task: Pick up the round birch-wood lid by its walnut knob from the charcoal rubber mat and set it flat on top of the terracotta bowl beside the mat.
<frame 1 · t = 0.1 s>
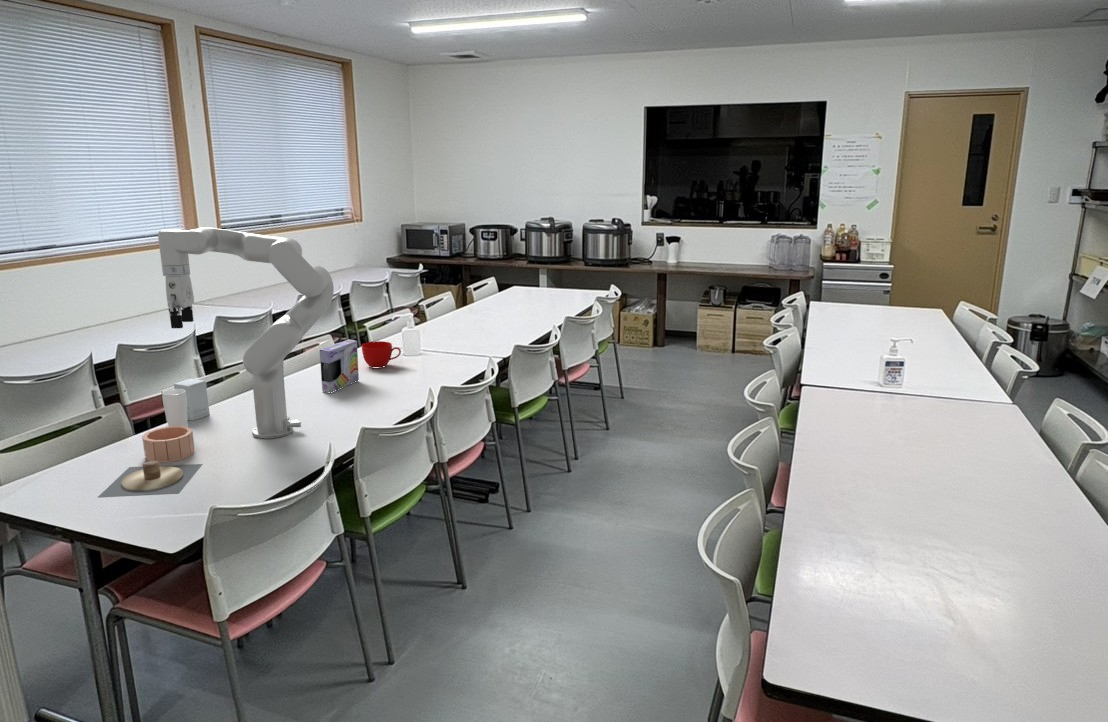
hand: (182, 324, 224), 37 cm above the table, tool pointing down, fingers open, 9 cm apart
ceramic cup: (382, 367, 318), on the table
drinking glass: (179, 436, 233), on the table
mat: (153, 480, 199), on the table
bowl: (170, 455, 217), on the table
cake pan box: (340, 387, 287), on the table
lid: (153, 479, 199), resting on mat
supplement box: (194, 416, 251), on the table
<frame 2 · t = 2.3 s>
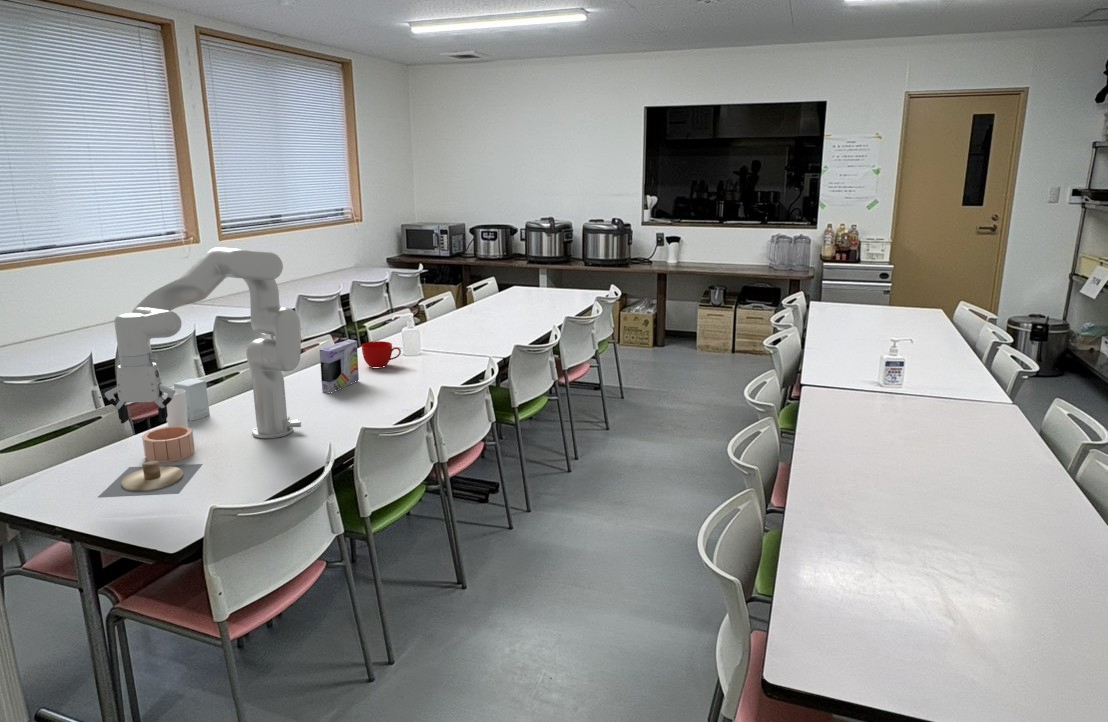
hand: (144, 421, 195), 18 cm above the table, tool pointing down, fingers open, 9 cm apart
nothing on the table moved.
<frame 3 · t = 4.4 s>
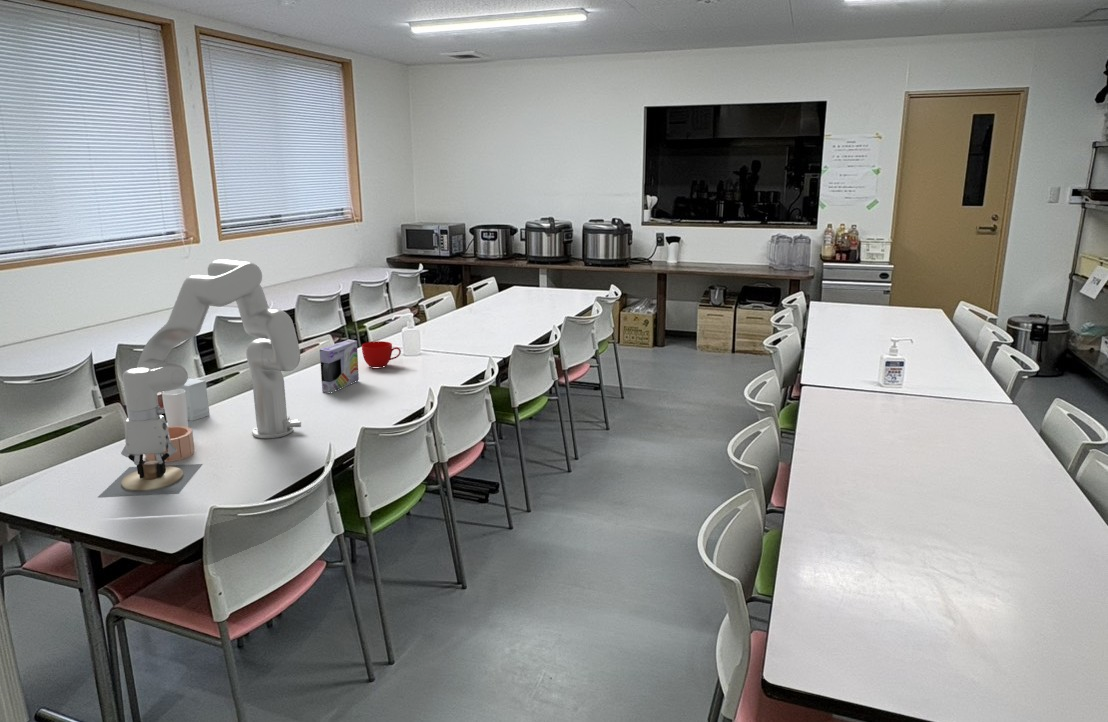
hand: (152, 475, 199), 2 cm above the table, tool pointing down, fingers closed on lid, 4 cm apart
lid: (153, 479, 199), resting on mat, touching gripper
everything else where it was.
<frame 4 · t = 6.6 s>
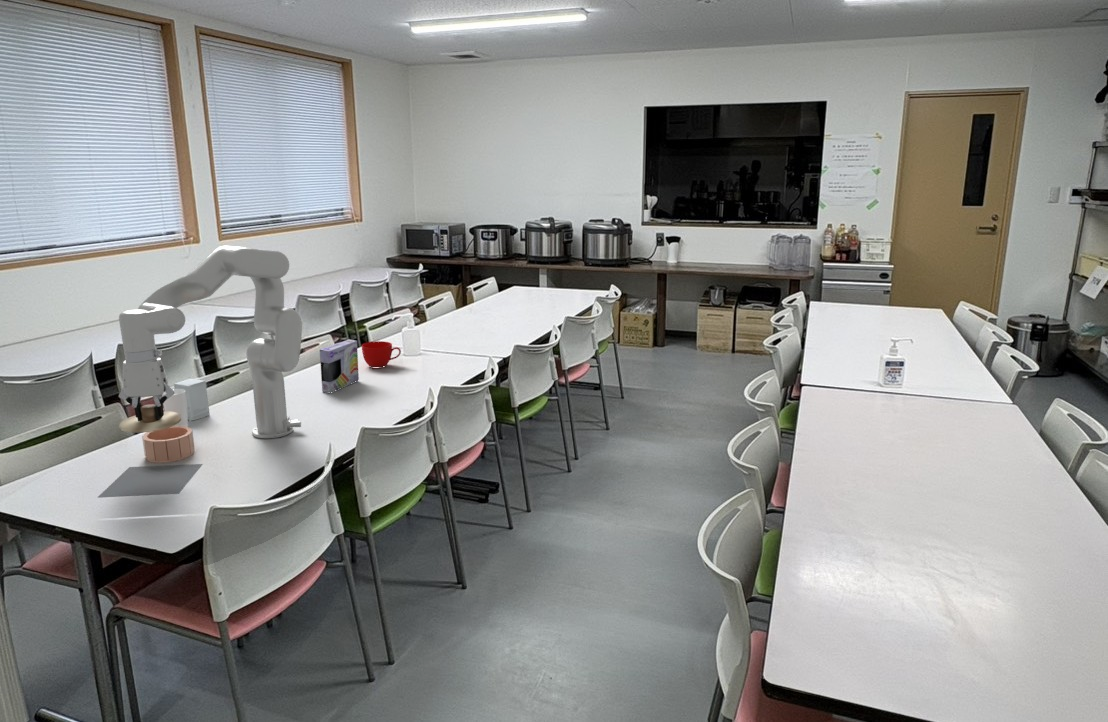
hand: (150, 418, 199), 17 cm above the table, tool pointing down, fingers closed on lid, 4 cm apart
lid: (151, 423, 199), point 16 cm above the table, touching gripper
everything else where it was.
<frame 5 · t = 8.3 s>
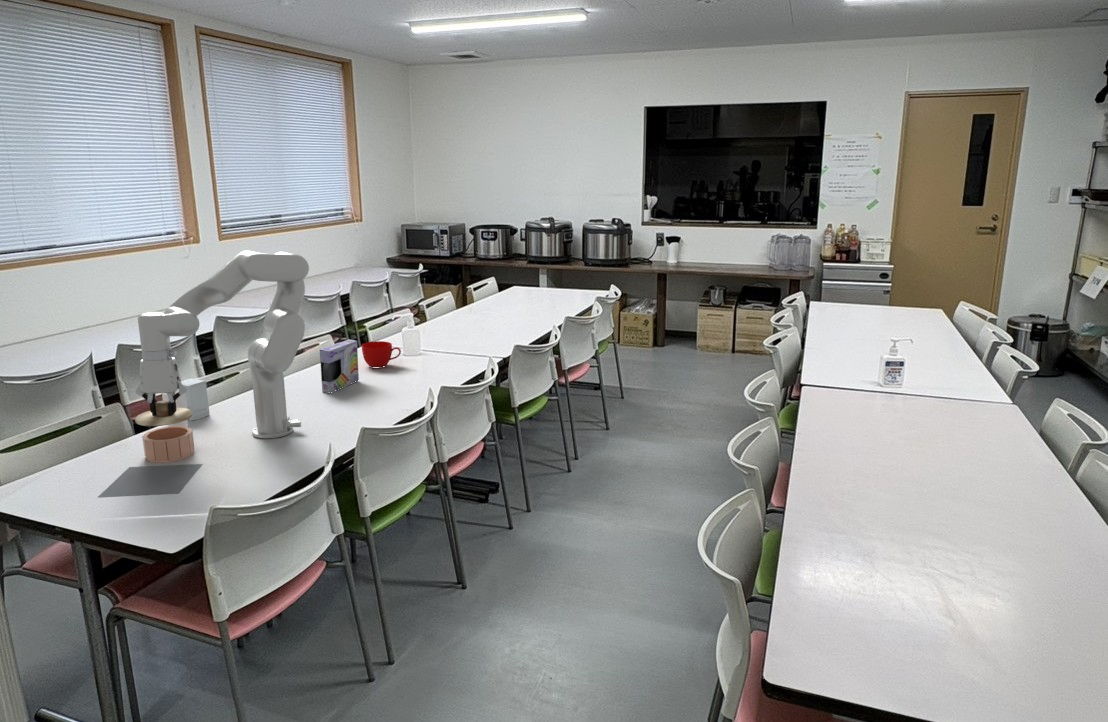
hand: (164, 413, 214), 13 cm above the table, tool pointing down, fingers closed on lid, 4 cm apart
lid: (164, 417, 214), point 12 cm above the table, touching gripper
everything else where it was.
when the fingers open (9 cm above the table, at t = 9.2 s): lid drops 1 cm, resting on bowl.
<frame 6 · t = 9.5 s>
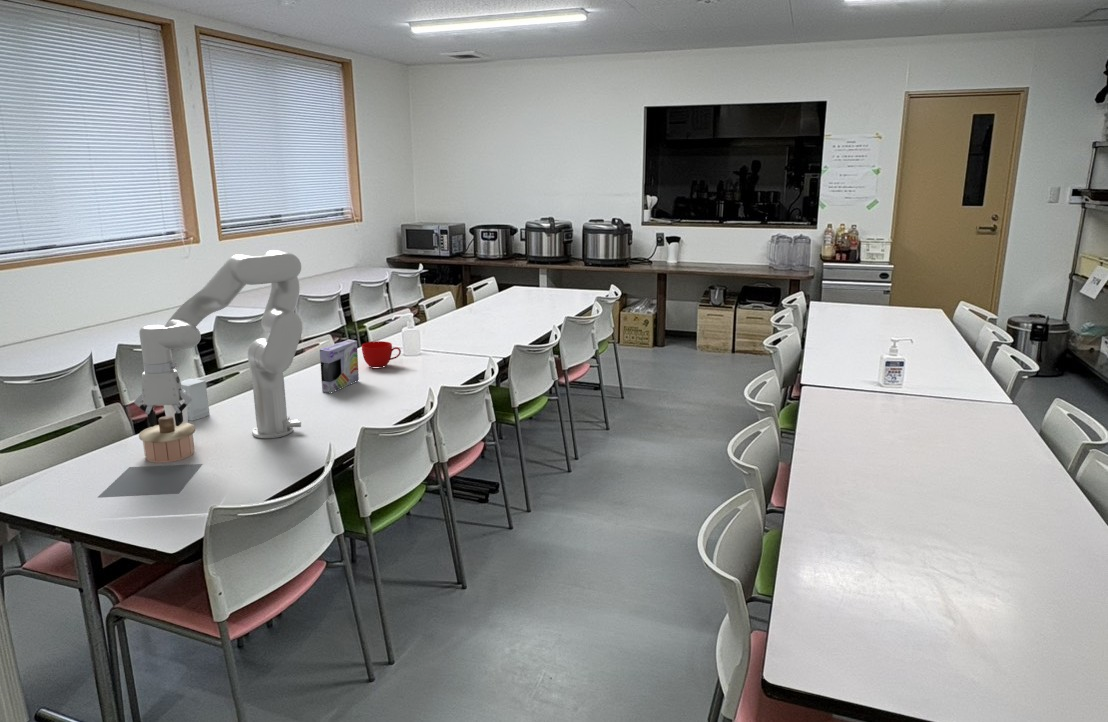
hand: (166, 424, 215), 10 cm above the table, tool pointing down, fingers open, 6 cm apart
lid: (167, 433, 215), point 7 cm above the table, touching bowl
everything else where it was.
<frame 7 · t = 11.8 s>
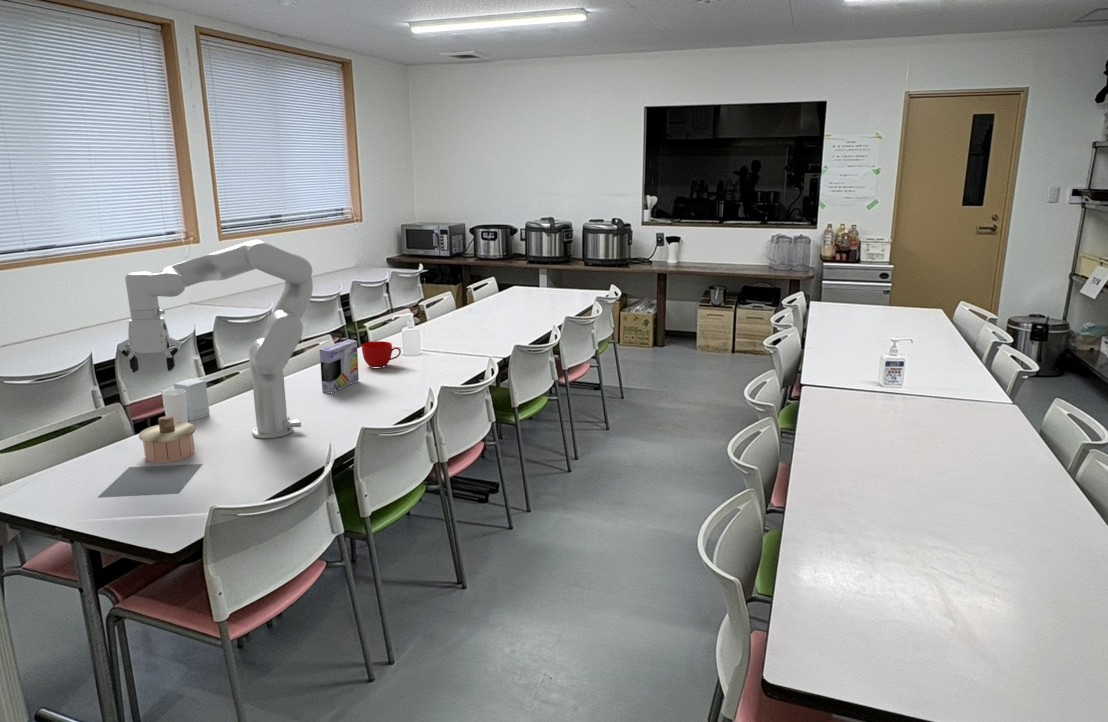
hand: (153, 370, 215), 25 cm above the table, tool pointing down, fingers open, 9 cm apart
nothing on the table moved.
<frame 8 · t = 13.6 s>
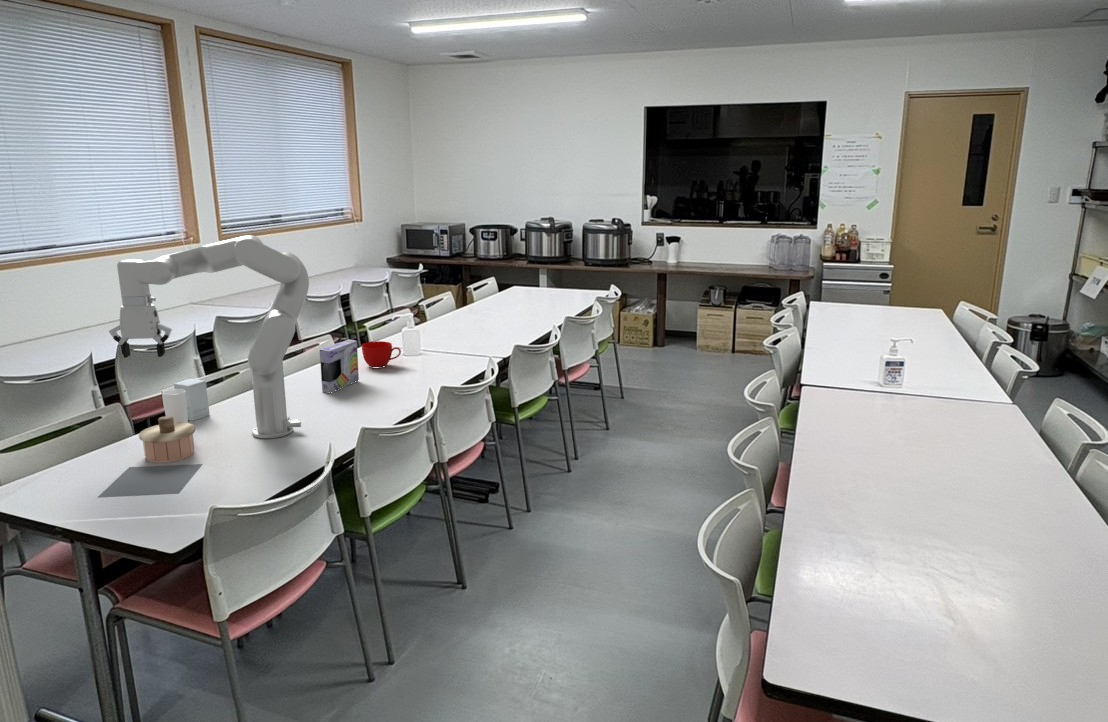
hand: (144, 356, 219), 28 cm above the table, tool pointing down, fingers open, 9 cm apart
nothing on the table moved.
at the end: lid 0.1 cm off-centre on the bowl, point 7.0 cm above the bowl's base; lid tilted 0°; the gripper is holding nothing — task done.
